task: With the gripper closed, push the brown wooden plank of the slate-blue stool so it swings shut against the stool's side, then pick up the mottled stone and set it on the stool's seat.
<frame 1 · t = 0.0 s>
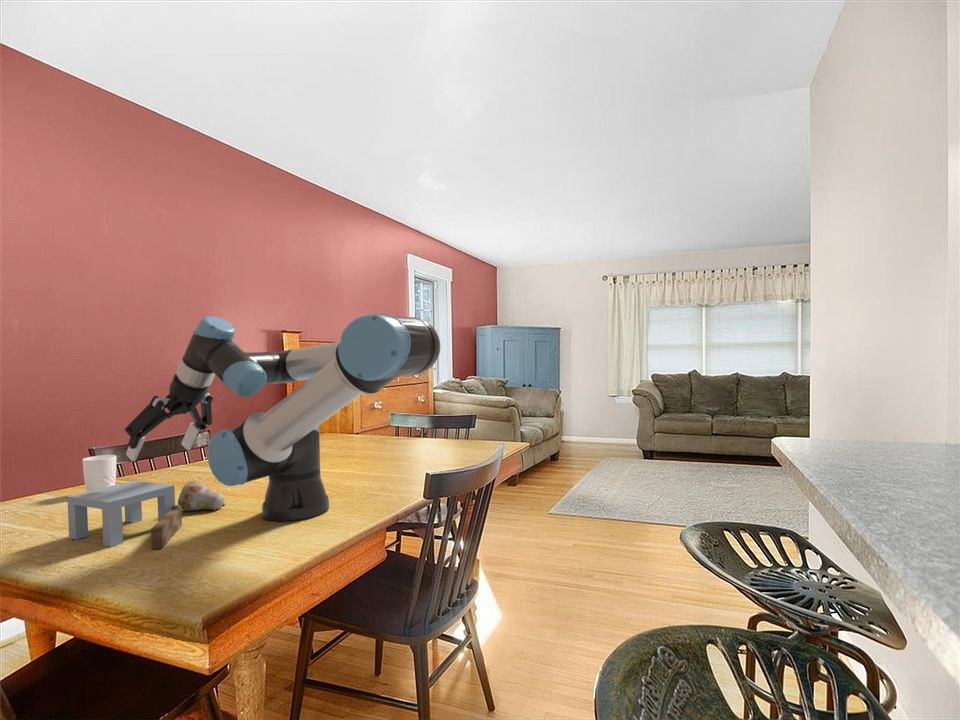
hand: (159, 452, 126), 15 cm above the table, tool tilted 35°, fingers open, 13 cm apart
stool: (124, 531, 116), on the table
brown wooden plank: (167, 525, 112), point 2 cm above the table, hinge at 40.0°
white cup: (101, 493, 151), on the table
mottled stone: (204, 510, 132), on the table
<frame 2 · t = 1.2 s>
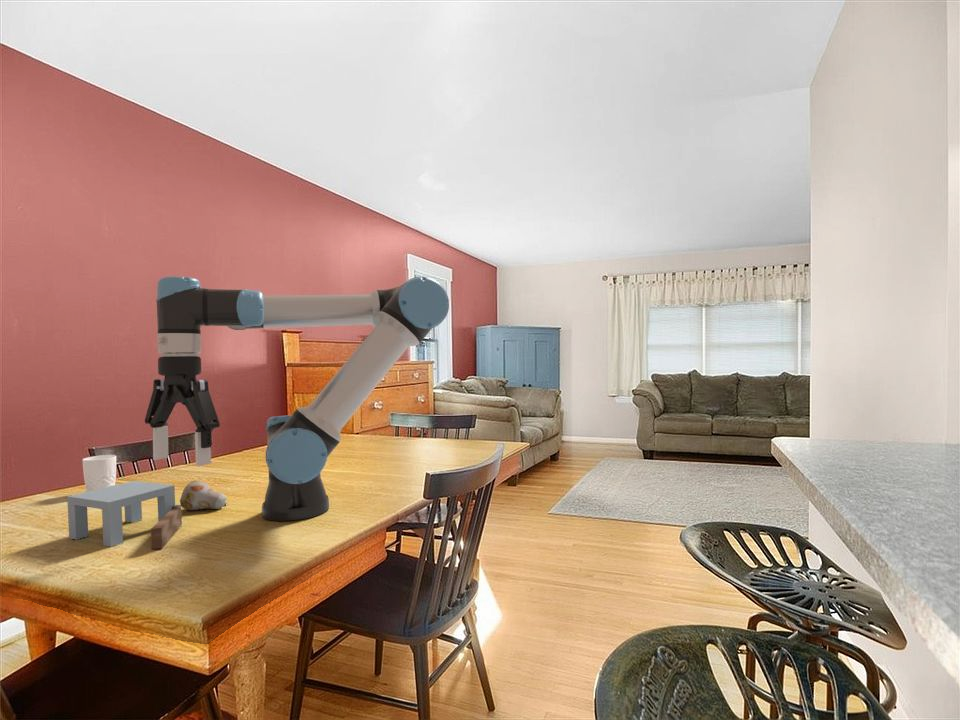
hand: (181, 461, 107), 17 cm above the table, tool pointing down, fingers open, 13 cm apart
nothing on the table moved.
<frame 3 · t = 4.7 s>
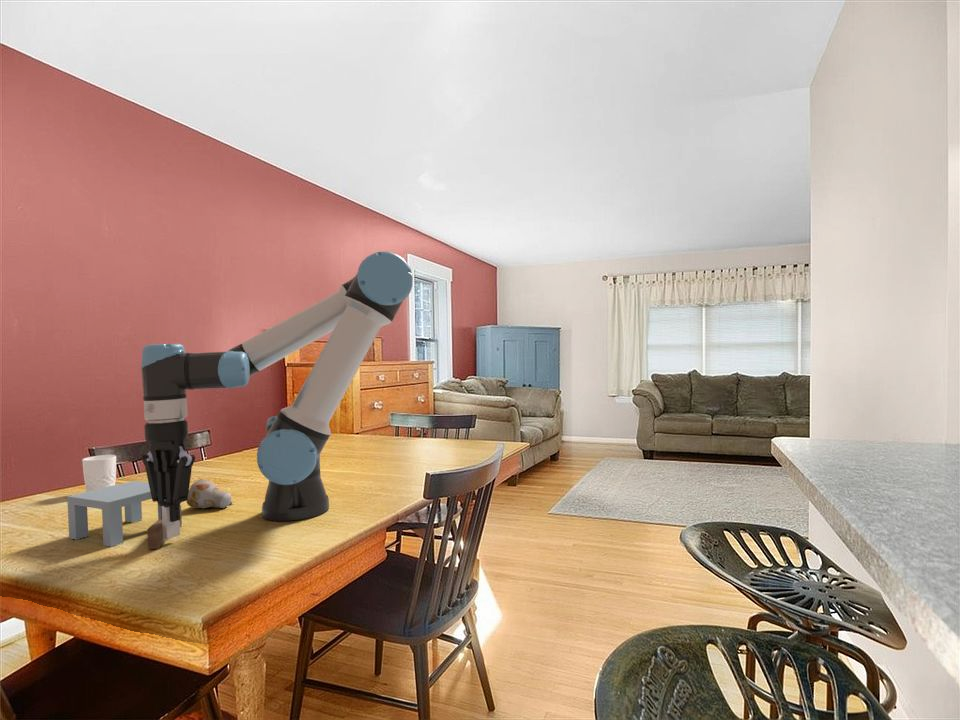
hand: (171, 536, 108), 1 cm above the table, tool pointing down, fingers closed
brown wooden plank: (166, 526, 112), point 2 cm above the table, hinge at 37.4°, touching gripper
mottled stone: (212, 508, 133), on the table
everything else where it was.
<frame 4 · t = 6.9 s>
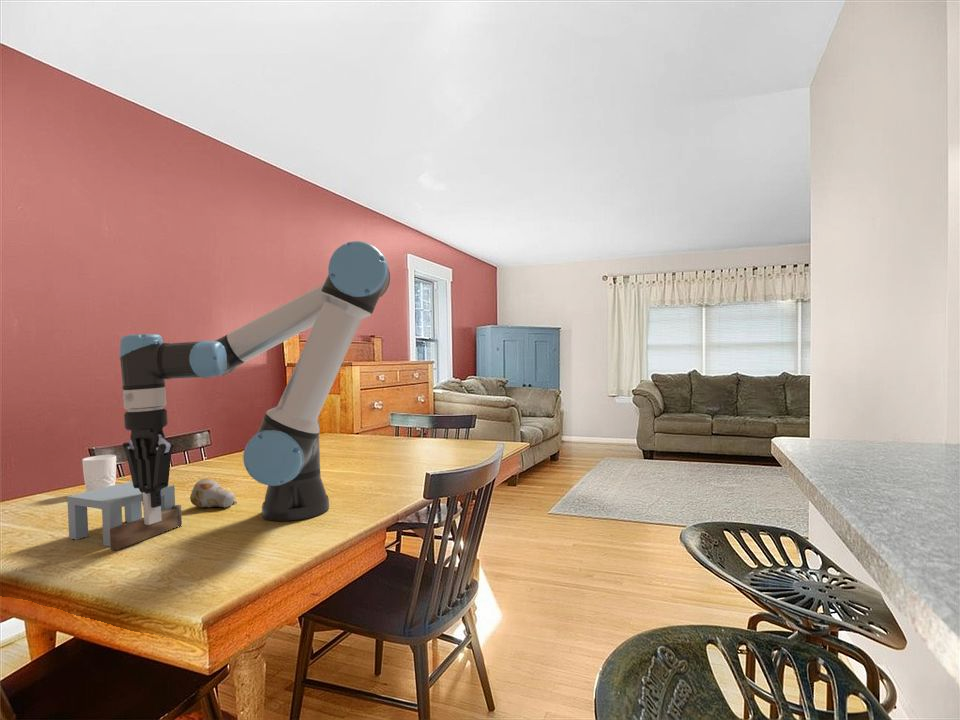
hand: (153, 522, 111), 3 cm above the table, tool pointing down, fingers closed
brown wooden plank: (149, 526, 112), point 2 cm above the table, hinge at 5.7°
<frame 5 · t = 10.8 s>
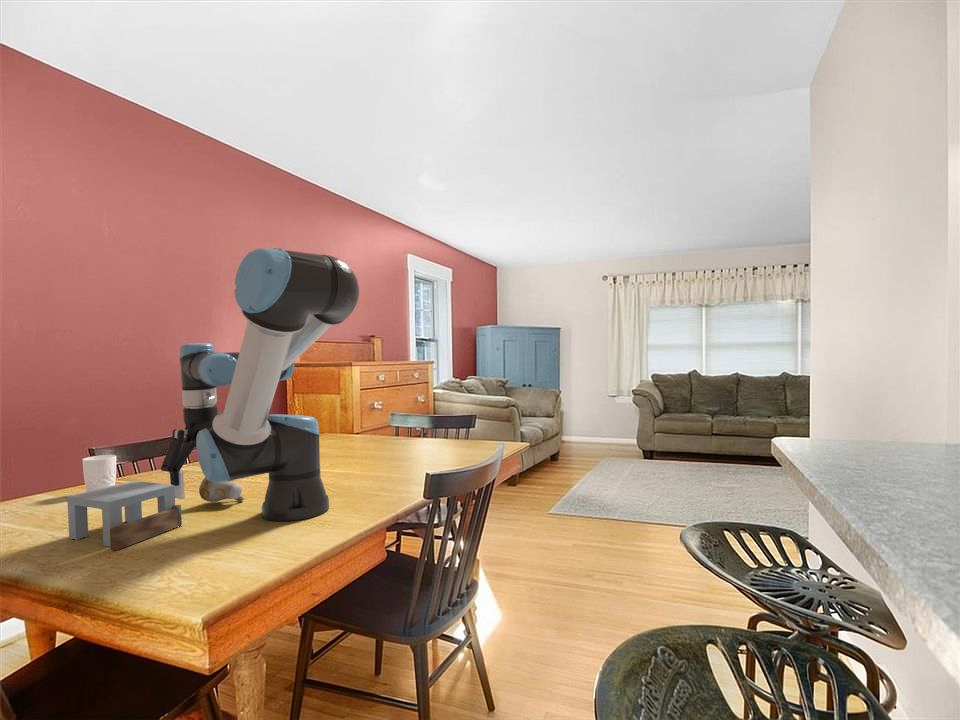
hand: (205, 490, 133), 4 cm above the table, tool pointing down, fingers open, 13 cm apart
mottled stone: (222, 501, 135), point 1 cm above the table, touching gripper
everything else where it was.
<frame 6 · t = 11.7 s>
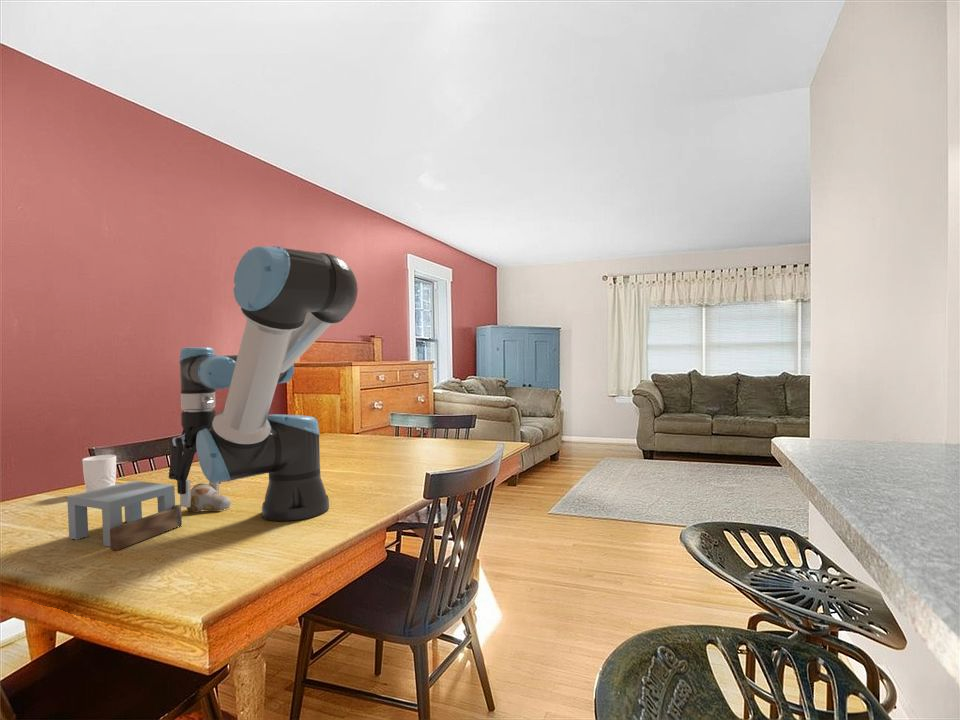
hand: (200, 501, 132), 2 cm above the table, tool pointing down, fingers closed on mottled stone, 7 cm apart
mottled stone: (211, 512, 132), on the table, touching gripper
everything else where it was.
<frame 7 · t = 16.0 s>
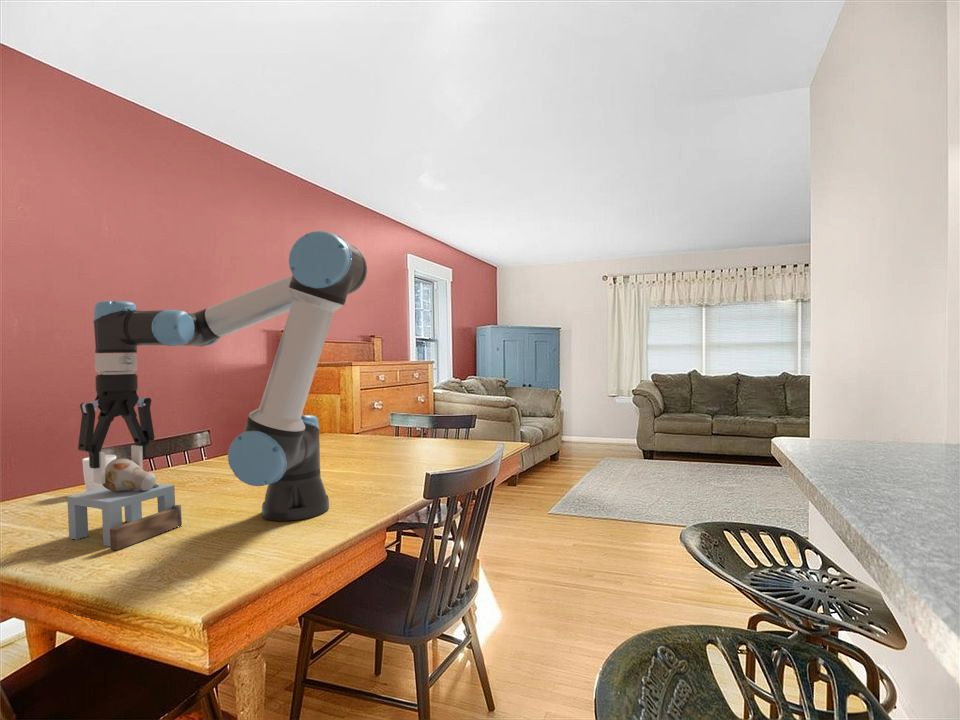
hand: (119, 478, 116), 12 cm above the table, tool pointing down, fingers closed on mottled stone, 7 cm apart
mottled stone: (133, 491, 116), point 9 cm above the table, touching gripper, stool
everything else where it was.
when the fingers open (12 cm above the table, at t = 16.3 s): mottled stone stays where it is, resting on stool.
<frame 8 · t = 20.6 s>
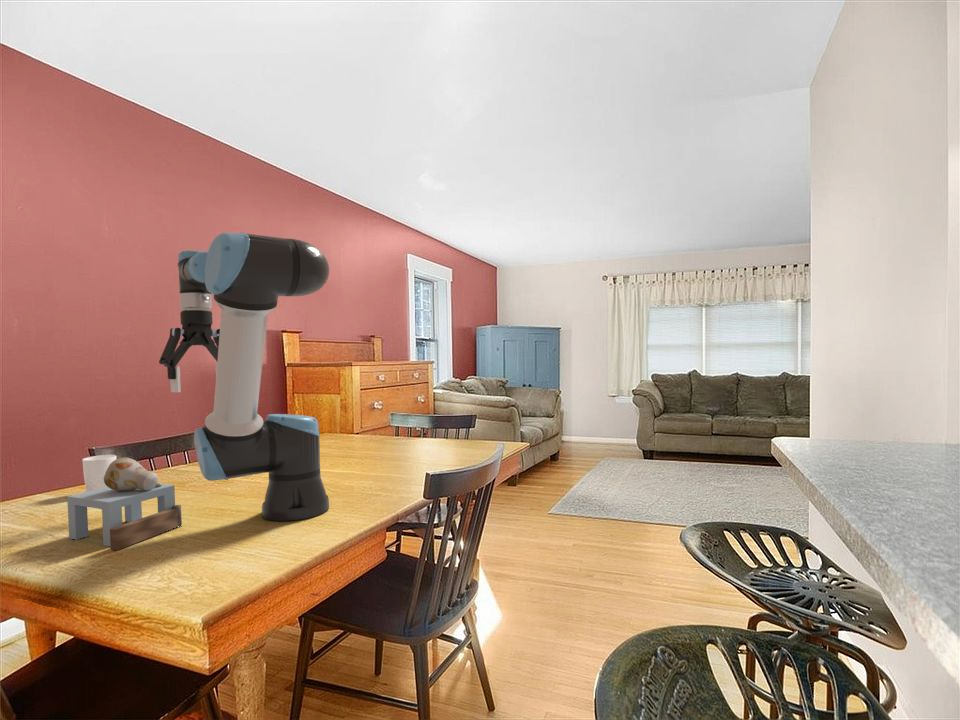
hand: (199, 390, 142), 29 cm above the table, tool pointing down, fingers open, 13 cm apart
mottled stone: (135, 490, 116), point 9 cm above the table, touching stool
everything else where it was.
at the end: brown wooden plank at +6° (first picture: +40°); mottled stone inside the target area on the stool (2.7 cm from its centre), point 8.8 cm above the stool's base; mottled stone tilted 0° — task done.
